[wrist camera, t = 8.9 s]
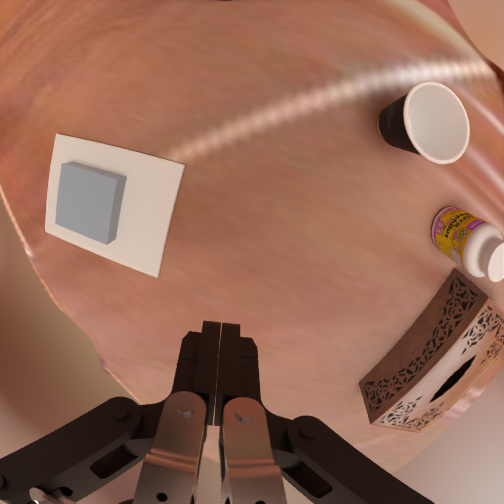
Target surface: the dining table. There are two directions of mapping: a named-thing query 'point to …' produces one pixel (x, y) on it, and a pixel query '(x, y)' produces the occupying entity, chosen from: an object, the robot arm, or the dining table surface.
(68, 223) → the tile
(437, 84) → the dixie cup
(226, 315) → the dining table surface
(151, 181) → the board
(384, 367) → the tissue box cover
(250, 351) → the robot arm
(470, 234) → the supplement bottle
